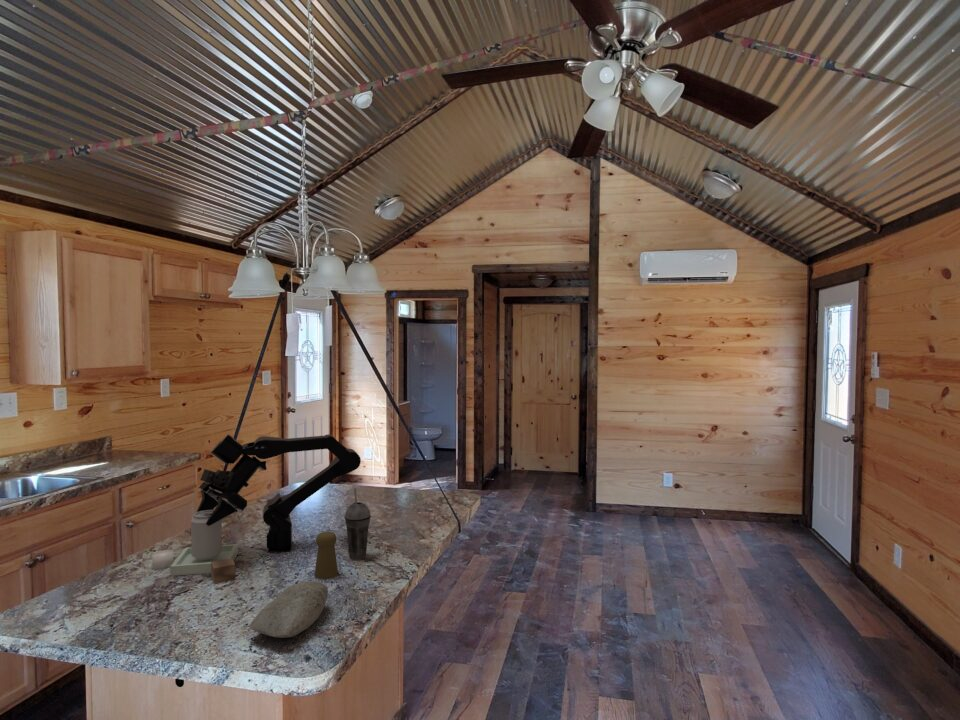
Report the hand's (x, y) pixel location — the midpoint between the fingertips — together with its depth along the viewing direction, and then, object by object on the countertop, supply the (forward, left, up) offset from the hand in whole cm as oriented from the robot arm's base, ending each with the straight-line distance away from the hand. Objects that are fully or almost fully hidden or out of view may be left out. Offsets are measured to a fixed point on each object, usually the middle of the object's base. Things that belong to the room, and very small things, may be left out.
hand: (201, 522), depth 154 cm
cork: (-33, +14, -12) cm, 38 cm away
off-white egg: (+10, -2, -12) cm, 16 cm away
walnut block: (-8, +10, -12) cm, 17 cm away
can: (-1, -1, -10) cm, 10 cm away
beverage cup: (-42, +3, -12) cm, 43 cm away
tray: (-1, -1, -12) cm, 12 cm away
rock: (-28, +40, -12) cm, 50 cm away
